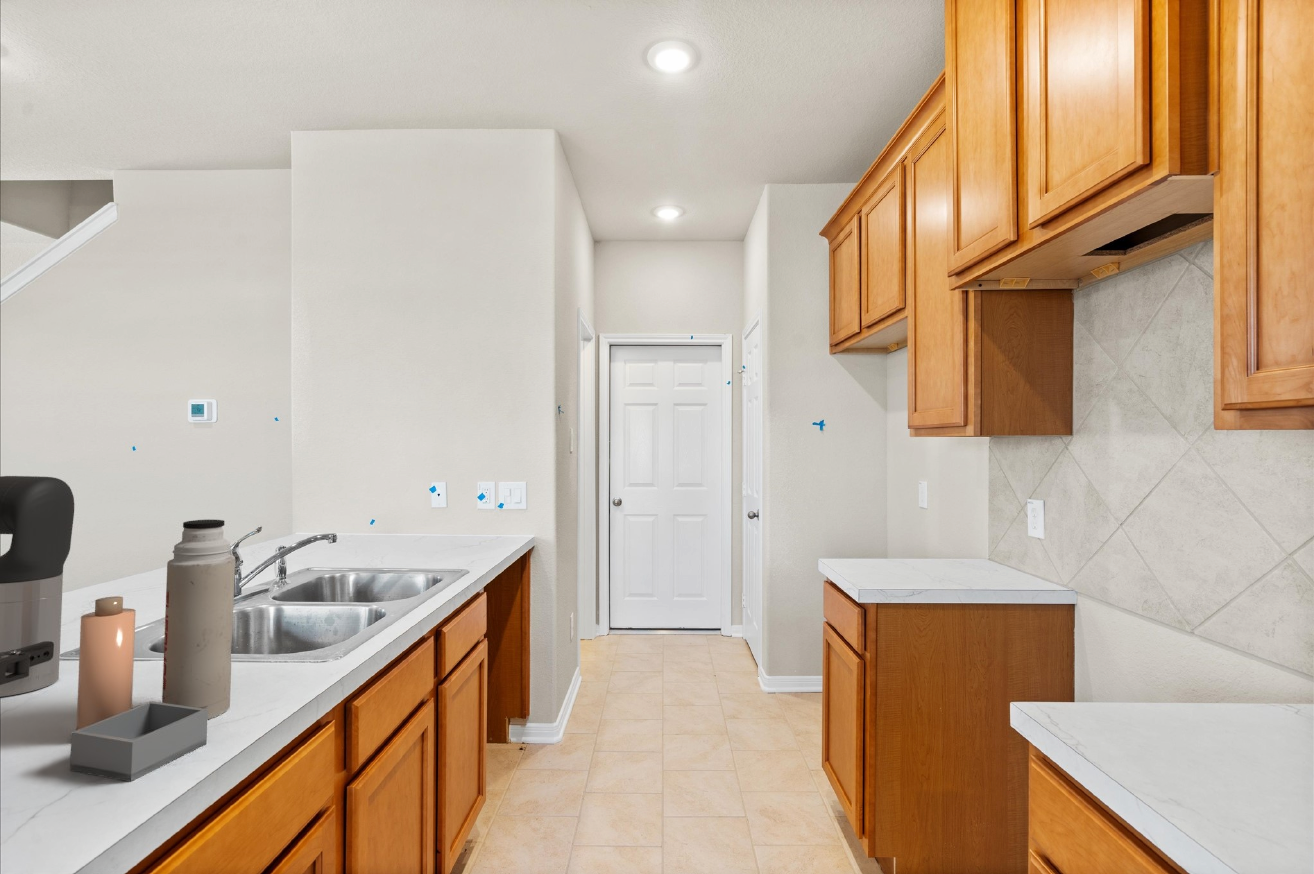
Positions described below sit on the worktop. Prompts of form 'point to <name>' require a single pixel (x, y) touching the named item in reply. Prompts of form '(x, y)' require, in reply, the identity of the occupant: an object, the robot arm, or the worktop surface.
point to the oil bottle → (105, 661)
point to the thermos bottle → (199, 619)
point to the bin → (138, 740)
